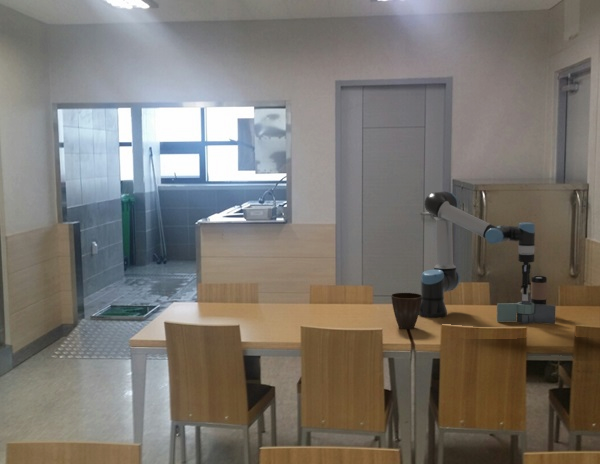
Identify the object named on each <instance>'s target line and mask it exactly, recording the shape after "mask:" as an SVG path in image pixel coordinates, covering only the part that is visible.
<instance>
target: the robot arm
mask: <svg viewBox="0 0 600 464" xmlns="http://www.w3.org/2000/svg"><path fill="white" fill-rule="evenodd" d="M423 204H424V208H425V210H426V211H427V212H428V213H429V214H431V215H432V217H433V218H434V220H435V234H436V235H435V236H436V237H435V241H436V264H435V265H434V267H433V269H428V270H424V271H423V272H422V273H421V278H420V283H421V285H420V287H421V288H420V289H421V290H420V291H421V294H420V295H422V301H421V307H420V311H419V315H418V317H422V318H423V317H424V318H432V319H434V318H435V319H436V318H437V319H438V318H444V317H447V316H448V309H447V307H446V303H445V300H444V299H445V295H444V293H447V292H450V291H451V292H452V291H453V290H455V289H456V288H458V286H459V284H460V281H461V278H460V274H459V273H458V271H457V266H456V264H454V256H453V255H454V254H453V253H454V252H453V251H454V250H453V249H454V248H453V247H454V245H453V224H454V225H457V226H459V227H462V228H464V229H465V230H467V231H470V232H471V233H474V234H475V235H478V236H480V237H481V238H483V239H485V240H486V242H487V243H489V244H492V245H498V244H500V243H505V242H518V262H520V263H523V264H522V265H521V273H522V280H521V281H522V283H521V286H520V288H522V289H521V290H522V292H521V302H522V301H528V290H530V286H531V279H530V274H531V269H532V268H531V264H530V263H534V262H535V254H534V253H535V250H537V248H536V246H535V240H536V239H535V235H536V229H535V228H536V227H535V223H533V222H520V223H518V226H513V225H505V224H504V225H497V226H495V225H493V224H491V223H489V222H487V221H485V220H483V219H481V218H479V217H476V216H474V215H472V214H470V213H469V212H466V211H465V210H463V209H460V208H458V207H459V200H458V198H457V196H456V194H454V193H453V192H450V191H437V192H435V191H434V192H432V193H430V194H428V195H426V197H425V199H424V203H423Z"/></svg>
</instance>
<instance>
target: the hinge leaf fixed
mask: <svg viewBox="0 0 600 464" xmlns="http://www.w3.org/2000/svg"><path fill="white" fill-rule="evenodd" d="M556 307H557V306H556V304H546V305H544V304H535V313H533V314H520V313H517V315H516V323H519V324H525V325H526V324H527V325H530V324H548V325H555V324H556Z"/></svg>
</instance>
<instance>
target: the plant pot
mask: <svg viewBox="0 0 600 464" xmlns="http://www.w3.org/2000/svg"><path fill="white" fill-rule="evenodd" d="M390 296H391V303H392V309H393V313H394V314H393V315H394V317H395V318H394V319H395V320H396V323H397V327H398V328H399V329H402V330H412V329H414V328H415V327H416V323H417V320H418V317H419V311H420V307H421V301H422V295H421V294H420V293H416V292H415V293H414V292H396V293H391V295H390Z"/></svg>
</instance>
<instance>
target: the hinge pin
mask: <svg viewBox="0 0 600 464" xmlns="http://www.w3.org/2000/svg"><path fill="white" fill-rule="evenodd" d="M520 293H522V289H520ZM531 293H532V290H531V289H529V290H528V301H522V300H521V302H522V304H523V305H530V303H531Z"/></svg>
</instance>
